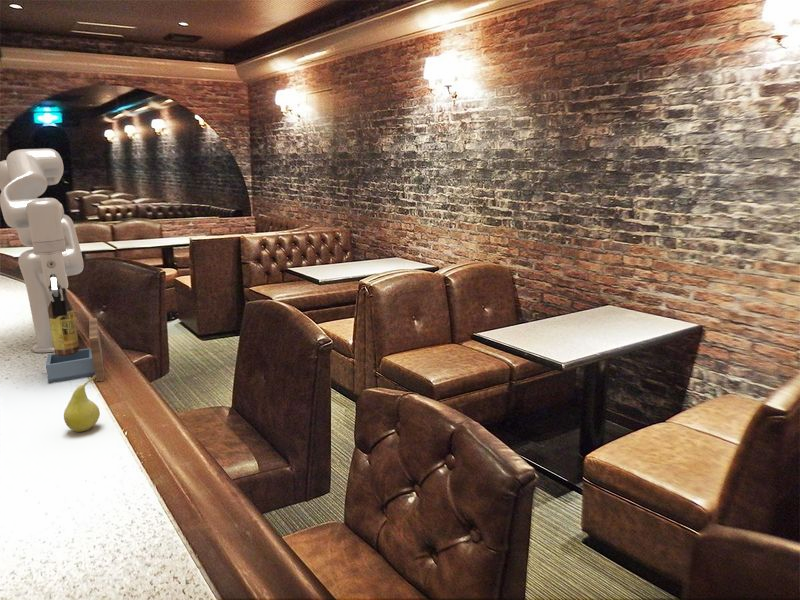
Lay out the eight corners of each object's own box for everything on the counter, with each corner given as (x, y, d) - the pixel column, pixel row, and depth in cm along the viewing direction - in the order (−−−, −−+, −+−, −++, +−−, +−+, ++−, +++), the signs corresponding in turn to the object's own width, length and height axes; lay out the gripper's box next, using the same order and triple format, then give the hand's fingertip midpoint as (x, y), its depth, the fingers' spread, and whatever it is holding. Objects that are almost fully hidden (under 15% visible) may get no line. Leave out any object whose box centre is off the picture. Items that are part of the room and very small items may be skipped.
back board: (95, 357, 189) (89, 318, 186) (102, 356, 190) (96, 317, 187) (96, 382, 168) (89, 338, 165) (104, 380, 168) (97, 337, 166)
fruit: (67, 427, 140) (58, 375, 137) (104, 420, 143) (96, 369, 140) (65, 438, 134) (55, 385, 131) (104, 431, 137) (95, 379, 134)
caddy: (50, 371, 178) (47, 354, 177) (95, 364, 183) (93, 347, 182) (48, 383, 168) (45, 365, 167) (96, 375, 173) (93, 358, 172)
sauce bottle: (69, 357, 170) (56, 285, 166) (49, 356, 172) (36, 285, 167) (85, 349, 177) (74, 279, 172) (66, 348, 178) (54, 279, 173)
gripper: (64, 249, 161) (75, 317, 165) (66, 242, 177) (76, 305, 181) (30, 252, 158) (43, 322, 162) (35, 245, 173) (47, 308, 178)
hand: (60, 312), depth 171 cm, fingers closed on sauce bottle, 6 cm apart
